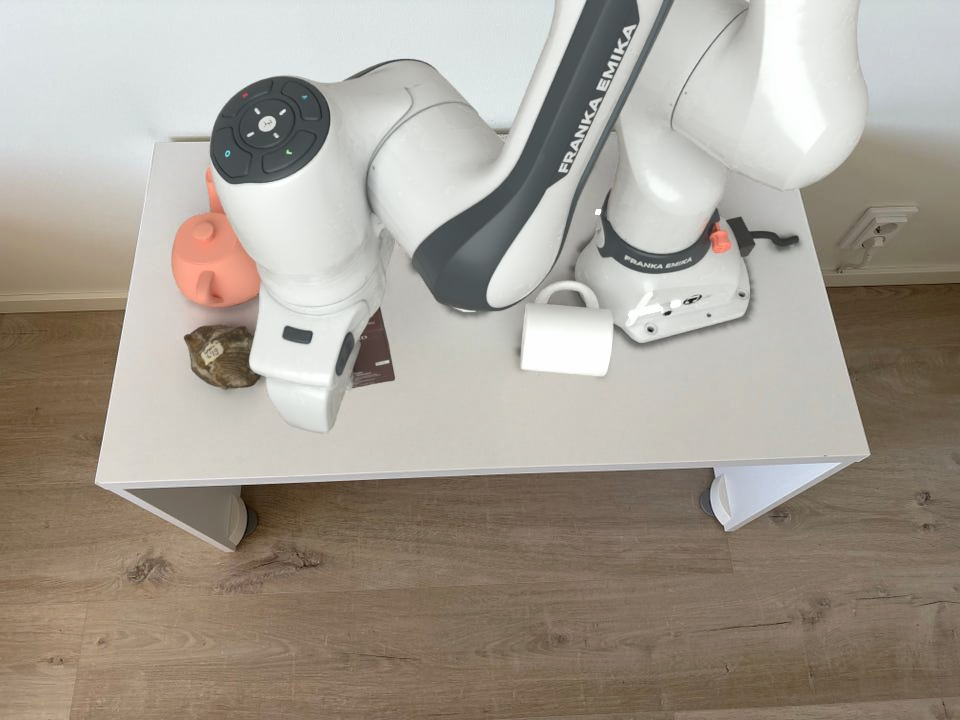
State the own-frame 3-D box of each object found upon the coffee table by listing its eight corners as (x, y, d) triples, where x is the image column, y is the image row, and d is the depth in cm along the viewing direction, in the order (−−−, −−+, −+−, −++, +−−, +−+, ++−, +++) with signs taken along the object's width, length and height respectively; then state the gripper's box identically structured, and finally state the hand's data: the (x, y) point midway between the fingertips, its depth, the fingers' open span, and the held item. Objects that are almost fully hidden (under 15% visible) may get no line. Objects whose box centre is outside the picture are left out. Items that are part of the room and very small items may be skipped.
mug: (600, 386, 80) (613, 359, 73) (518, 379, 81) (523, 352, 73) (602, 300, 85) (614, 267, 78) (525, 294, 85) (530, 260, 78)
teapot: (174, 331, 83) (140, 292, 74) (190, 213, 90) (160, 166, 81) (272, 325, 83) (249, 286, 74) (280, 208, 90) (259, 161, 82)
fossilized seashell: (172, 335, 80) (200, 410, 78) (184, 309, 75) (214, 387, 73) (233, 325, 85) (261, 395, 83) (248, 300, 80) (278, 373, 78)
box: (338, 395, 66) (312, 342, 55) (333, 355, 68) (306, 296, 57) (398, 384, 67) (383, 329, 56) (391, 344, 69) (375, 284, 58)
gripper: (329, 162, 55) (356, 254, 68) (238, 385, 47) (288, 442, 59) (403, 177, 54) (416, 266, 67) (323, 404, 46) (356, 457, 59)
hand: (355, 350), depth 63 cm, fingers closed on box, 5 cm apart
